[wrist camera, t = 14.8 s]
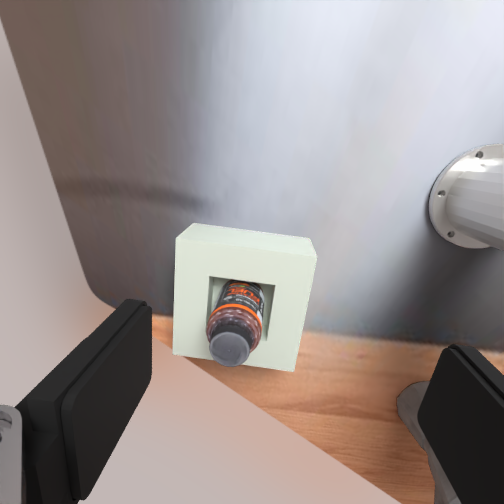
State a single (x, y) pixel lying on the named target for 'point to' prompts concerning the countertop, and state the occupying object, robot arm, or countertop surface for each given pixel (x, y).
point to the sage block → (246, 269)
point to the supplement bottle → (236, 322)
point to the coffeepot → (424, 440)
